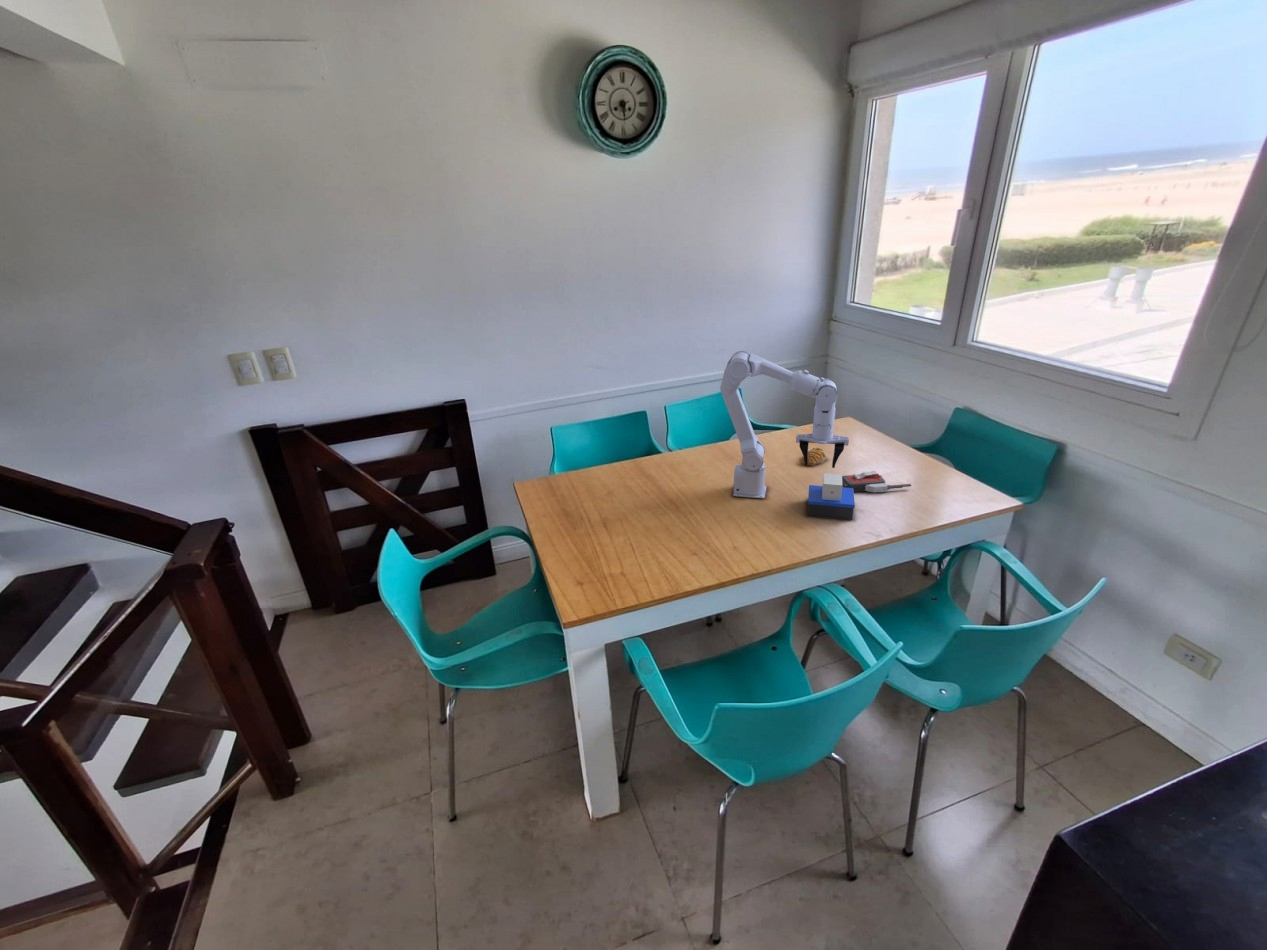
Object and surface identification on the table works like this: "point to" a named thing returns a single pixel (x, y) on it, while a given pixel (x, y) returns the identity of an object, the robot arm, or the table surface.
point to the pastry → (815, 456)
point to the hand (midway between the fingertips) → (819, 465)
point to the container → (830, 504)
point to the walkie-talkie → (868, 482)
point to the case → (832, 487)
